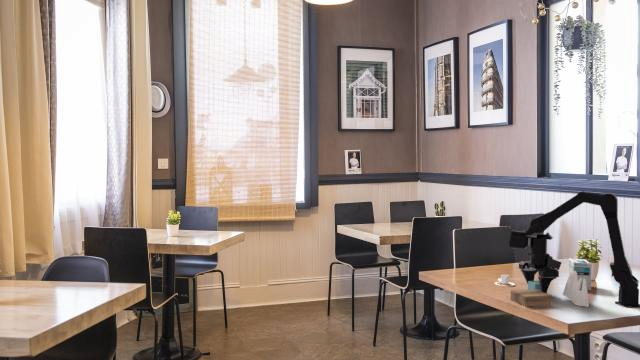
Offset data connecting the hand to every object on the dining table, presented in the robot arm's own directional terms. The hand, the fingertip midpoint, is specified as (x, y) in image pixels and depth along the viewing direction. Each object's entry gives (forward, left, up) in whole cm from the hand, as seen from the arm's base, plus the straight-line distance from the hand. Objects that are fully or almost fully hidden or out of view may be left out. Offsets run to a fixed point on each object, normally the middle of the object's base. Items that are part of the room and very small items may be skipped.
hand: (537, 291), depth 232 cm
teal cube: (0, 0, -1) cm, 1 cm away
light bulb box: (+10, -24, -2) cm, 26 cm away
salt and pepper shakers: (-13, -7, -2) cm, 15 cm away
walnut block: (-11, +9, -2) cm, 14 cm away
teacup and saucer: (+21, 0, -2) cm, 21 cm away
